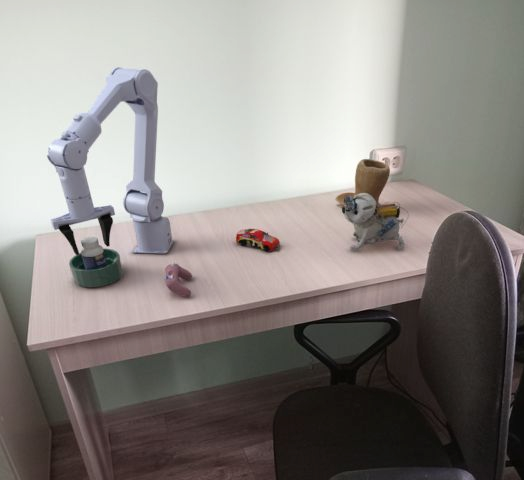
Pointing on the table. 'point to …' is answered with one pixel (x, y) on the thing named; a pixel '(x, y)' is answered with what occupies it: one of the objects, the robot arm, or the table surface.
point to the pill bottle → (92, 253)
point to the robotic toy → (372, 220)
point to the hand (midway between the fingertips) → (92, 249)
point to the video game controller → (177, 279)
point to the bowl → (97, 270)
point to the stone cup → (368, 179)
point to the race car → (257, 239)
